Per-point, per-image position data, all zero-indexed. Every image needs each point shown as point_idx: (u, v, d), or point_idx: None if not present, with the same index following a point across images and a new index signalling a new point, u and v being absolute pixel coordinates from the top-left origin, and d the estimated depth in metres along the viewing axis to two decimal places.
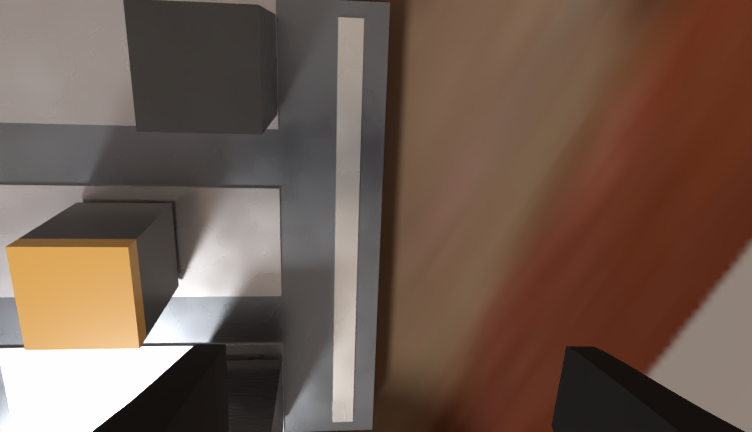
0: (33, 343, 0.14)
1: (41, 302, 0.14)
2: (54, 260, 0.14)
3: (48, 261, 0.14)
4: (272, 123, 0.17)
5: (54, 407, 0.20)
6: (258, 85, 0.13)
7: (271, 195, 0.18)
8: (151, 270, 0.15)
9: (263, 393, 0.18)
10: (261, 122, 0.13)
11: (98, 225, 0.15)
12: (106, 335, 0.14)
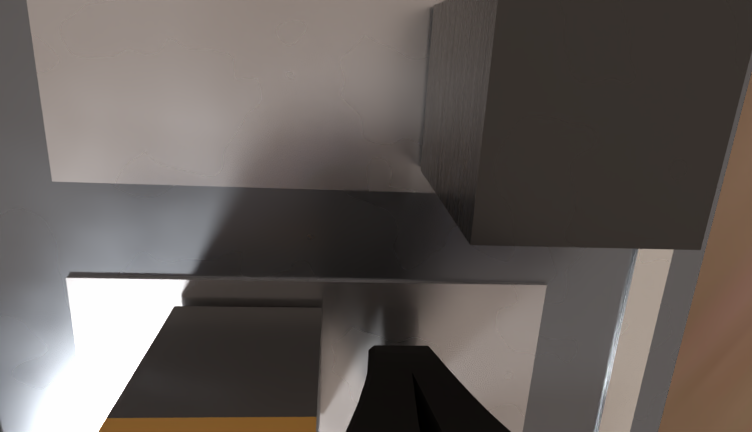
0: None
1: None
2: None
3: None
4: None
5: None
6: (720, 158, 0.06)
7: (531, 293, 0.12)
8: None
9: None
10: (703, 227, 0.07)
11: (232, 371, 0.09)
12: None
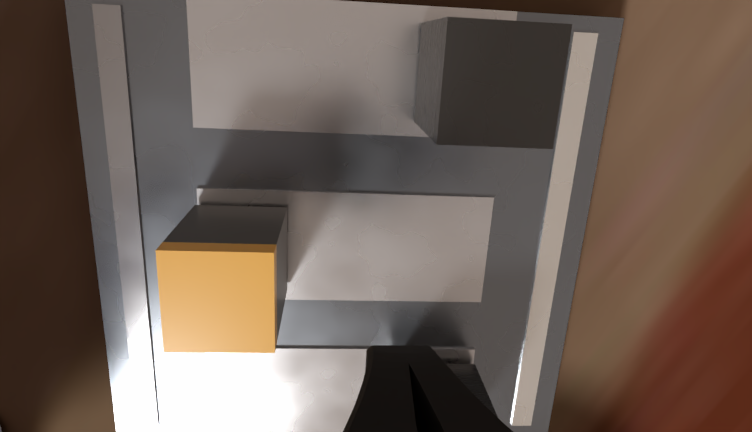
0: (172, 345, 0.14)
1: (184, 305, 0.14)
2: (201, 264, 0.14)
3: (195, 265, 0.14)
4: None
5: (249, 406, 0.20)
6: (558, 101, 0.13)
7: (485, 203, 0.18)
8: (279, 274, 0.16)
9: None
10: (553, 137, 0.13)
11: (230, 229, 0.15)
12: (244, 339, 0.15)
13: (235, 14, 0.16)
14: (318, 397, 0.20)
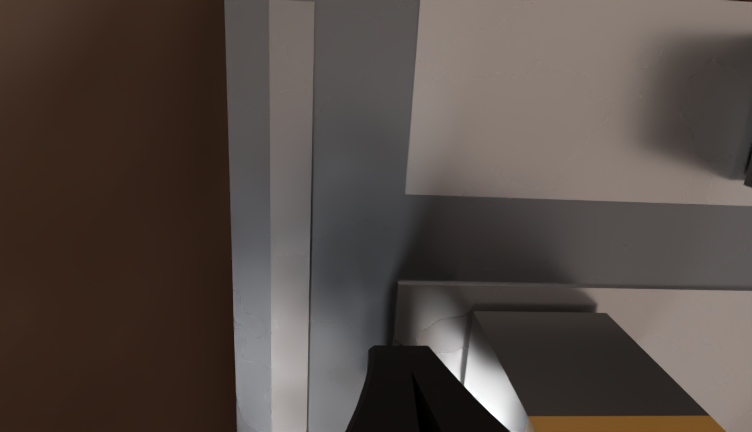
0: None
1: None
2: None
3: None
4: None
5: None
6: None
7: None
8: None
9: None
10: None
11: (591, 373, 0.09)
12: None
13: (493, 16, 0.10)
14: None
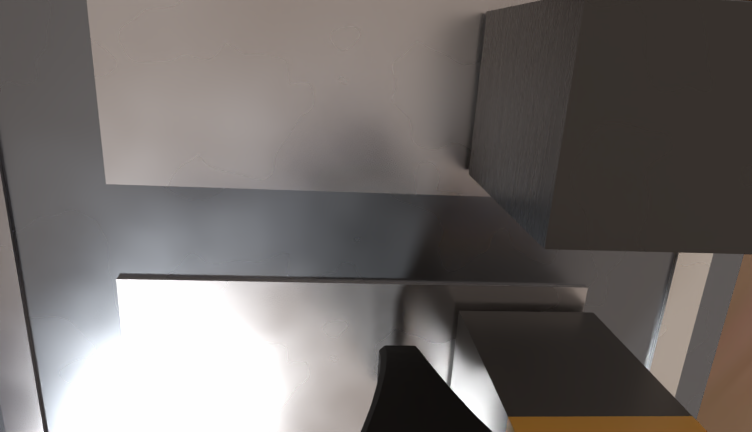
0: None
1: None
2: None
3: None
4: None
5: None
6: None
7: (572, 295, 0.12)
8: None
9: None
10: None
11: (575, 373, 0.09)
12: None
13: None
14: None
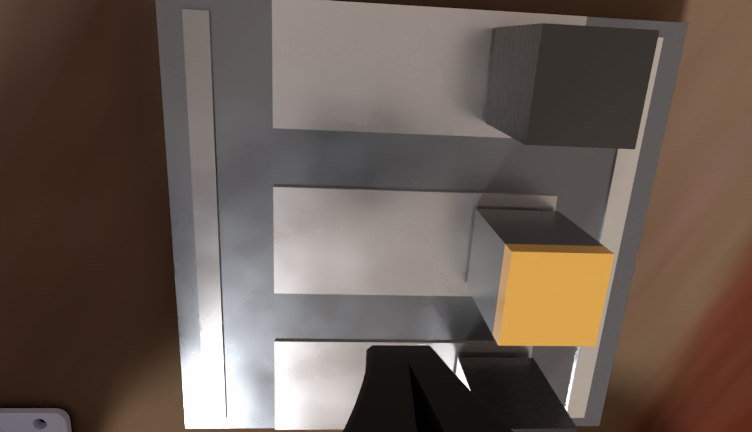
0: (507, 339, 0.16)
1: (526, 302, 0.15)
2: (549, 264, 0.15)
3: (543, 265, 0.15)
4: None
5: (314, 398, 0.21)
6: (642, 104, 0.14)
7: (548, 201, 0.19)
8: None
9: (540, 389, 0.19)
10: (636, 138, 0.14)
11: (543, 231, 0.17)
12: (571, 333, 0.16)
13: (318, 19, 0.17)
14: None
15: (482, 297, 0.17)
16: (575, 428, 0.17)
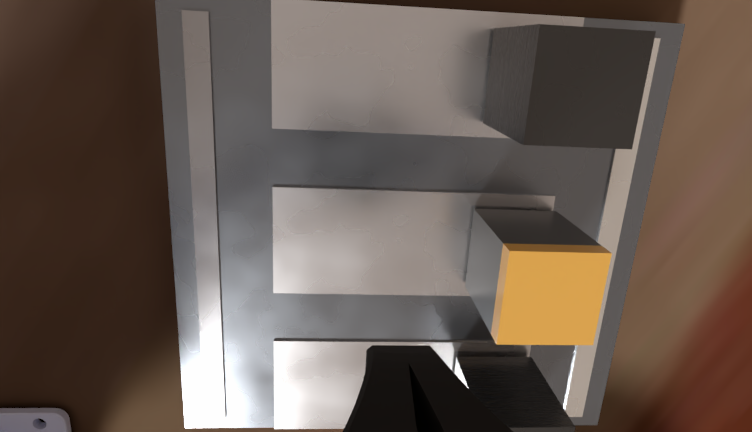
0: (505, 338, 0.16)
1: (524, 301, 0.15)
2: (546, 263, 0.15)
3: (541, 264, 0.15)
4: None
5: (313, 398, 0.21)
6: (639, 104, 0.14)
7: (546, 201, 0.19)
8: None
9: (538, 388, 0.19)
10: (633, 138, 0.14)
11: (541, 231, 0.17)
12: (569, 332, 0.16)
13: (317, 19, 0.17)
14: None
15: (480, 296, 0.18)
16: (573, 427, 0.17)
